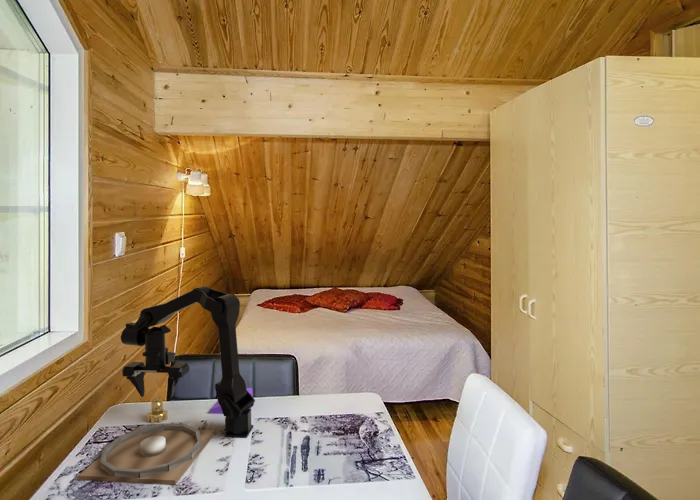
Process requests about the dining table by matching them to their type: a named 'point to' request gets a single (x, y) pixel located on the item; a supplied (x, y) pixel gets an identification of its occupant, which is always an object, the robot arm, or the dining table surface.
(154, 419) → the gear
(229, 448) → the dining table surface
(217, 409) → the bracket
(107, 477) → the carrier
